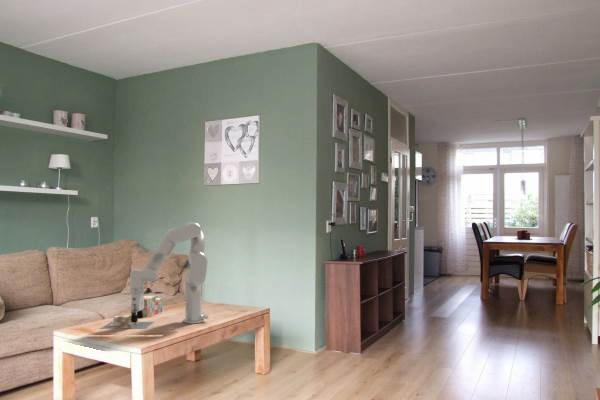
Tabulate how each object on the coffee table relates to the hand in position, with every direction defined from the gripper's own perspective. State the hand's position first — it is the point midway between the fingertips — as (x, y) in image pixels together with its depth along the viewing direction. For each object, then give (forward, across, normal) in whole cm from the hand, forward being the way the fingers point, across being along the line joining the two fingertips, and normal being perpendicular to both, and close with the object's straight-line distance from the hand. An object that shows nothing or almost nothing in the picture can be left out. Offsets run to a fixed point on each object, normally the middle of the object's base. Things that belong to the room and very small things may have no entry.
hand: (137, 320), depth 288 cm
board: (+4, 0, +5) cm, 7 cm away
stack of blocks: (+4, +33, +2) cm, 33 cm away
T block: (+3, 0, +7) cm, 8 cm away
